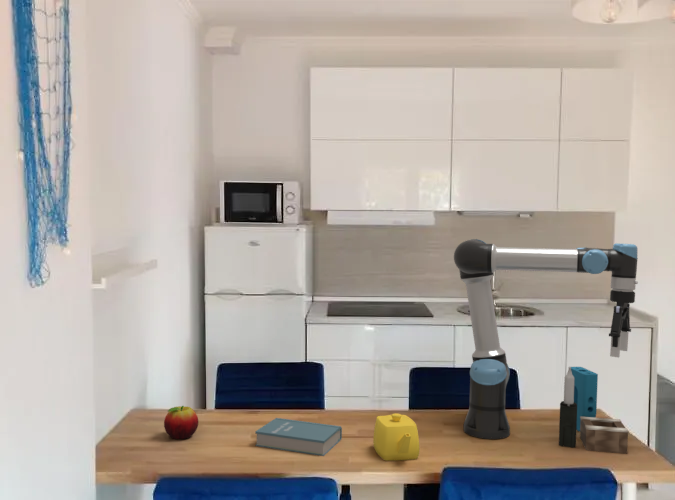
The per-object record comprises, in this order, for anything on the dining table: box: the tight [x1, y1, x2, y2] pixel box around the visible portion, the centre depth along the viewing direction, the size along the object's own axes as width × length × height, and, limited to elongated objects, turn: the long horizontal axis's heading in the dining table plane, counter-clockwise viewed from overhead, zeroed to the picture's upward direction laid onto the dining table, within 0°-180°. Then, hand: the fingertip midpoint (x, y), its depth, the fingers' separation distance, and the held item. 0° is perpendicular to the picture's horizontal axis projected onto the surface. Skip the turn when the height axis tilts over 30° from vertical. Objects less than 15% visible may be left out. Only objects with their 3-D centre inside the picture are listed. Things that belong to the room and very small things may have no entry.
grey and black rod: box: [558, 366, 577, 449], centre depth 207 cm, size 5×5×25 cm
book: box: [254, 417, 343, 457], centre depth 205 cm, size 23×16×5 cm
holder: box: [579, 416, 629, 454], centre depth 207 cm, size 12×12×7 cm
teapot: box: [372, 413, 420, 462], centre depth 196 cm, size 20×12×12 cm, turn 12°
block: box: [570, 366, 599, 433], centre depth 224 cm, size 12×5×20 cm, turn 8°
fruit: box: [163, 405, 199, 440], centre depth 208 cm, size 11×11×10 cm
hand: (618, 353), depth 217 cm, fingers open, 13 cm apart
